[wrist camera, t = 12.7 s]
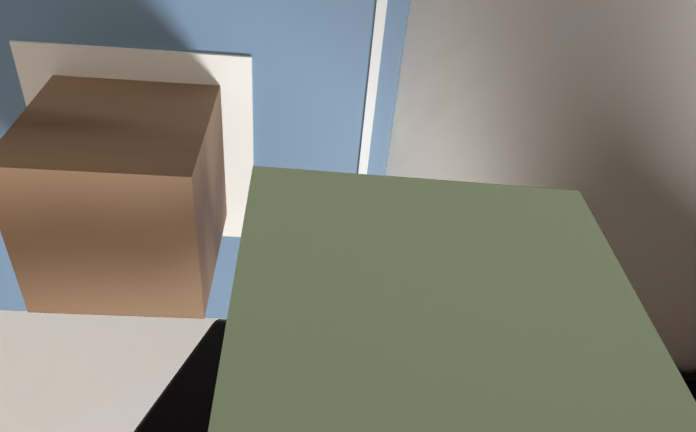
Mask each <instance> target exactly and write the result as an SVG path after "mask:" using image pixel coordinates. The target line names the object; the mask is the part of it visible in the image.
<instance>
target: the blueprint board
mask: <svg viewBox="0 0 696 432" xmlns="http://www.w3.org/2000/svg"><path fill="white" fill-rule="evenodd" d="M409 4H410V0H0V139H1V138H2V137H3V135H4V134H5V133H6V132H7V130H8V129H9V128H10V127H11V126H12V124H13V123H14V122H15V121H16V119H17V118H18V117H19V116H20V115H21V113H22V112H23V111H24V110H25V108H26V107H27V106H28V105H29V104H30V102H31V101H32V100H33V99H34V97H35V96H36V95H37V94H38V93H39V91H40V90H41V89H42V88H43V86H44V85H45V84H46V83H47V82H48V80H49V79H50V78H51V77H52V75H59V76H75V77H91V78H107V79H123V80H140V81H156V82H172V83H188V84H204V85H220V89H221V109H222V128H223V148H224V168H225V188H226V207H227V216H226V221H225V225H224V230H223V234H222V239H221V244H220V248H219V253H218V258H217V262H216V267H215V271H214V276H213V281H212V285H211V290H210V295H209V299H208V304H207V309H206V313H205V318H225V319H227V315H228V310H229V304H230V298H231V292H232V286H233V280H234V274H235V268H236V262H237V256H238V250H239V245H240V239H241V233H242V227H243V221H244V215H245V209H246V203H247V197H248V191H249V185H250V180H251V174H252V168H253V166H264V167H277V168H290V169H303V170H316V171H329V172H342V173H356V174H369V175H382V176H385V174H386V167H387V160H388V153H389V146H390V139H391V132H392V125H393V118H394V111H395V104H396V96H397V89H398V82H399V75H400V68H401V61H402V54H403V47H404V40H405V33H406V26H407V19H408V12H409ZM0 310H13V311H27V308H26V305H25V302H24V299H23V296H22V293H21V290H20V287H19V284H18V282H17V279H16V276H15V273H14V270H13V267H12V264H11V261H10V258H9V255H8V252H7V249H6V246H5V243H4V240H3V237H2V235H1V232H0Z"/></svg>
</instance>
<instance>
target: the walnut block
mask: <svg viewBox="0 0 696 432" xmlns="http://www.w3.org/2000/svg"><path fill="white" fill-rule="evenodd" d="M226 216H227V207H226V188H225V168H224V148H223V128H222V109H221V89H220V85H204V84H188V83H172V82H156V81H140V80H123V79H107V78H91V77H75V76H59V75H52V77H51V78H50V79H49V80H48V82H47V83H46V84H45V85H44V86H43V88H42V89H41V90H40V91H39V93H38V94H37V95H36V96H35V97H34V99H33V100H32V101H31V102H30V104H29V105H28V106H27V107H26V108H25V110H24V111H23V112H22V113H21V115H20V116H19V117H18V118H17V119H16V121H15V122H14V123H13V124H12V126H11V127H10V128H9V129H8V130H7V132H6V133H5V134H4V135H3V137H2V138H1V139H0V232H1V235H2V237H3V240H4V243H5V246H6V249H7V252H8V255H9V258H10V261H11V264H12V267H13V270H14V273H15V276H16V279H17V282H18V284H19V287H20V290H21V293H22V296H23V299H24V302H25V305H26V308H27V311H28V312H37V313H64V314H91V315H117V316H144V317H171V318H198V319H204V318H205V313H206V309H207V304H208V299H209V295H210V290H211V285H212V281H213V276H214V271H215V267H216V262H217V258H218V253H219V248H220V244H221V239H222V234H223V230H224V225H225V221H226Z"/></svg>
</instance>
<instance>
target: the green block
mask: <svg viewBox="0 0 696 432" xmlns="http://www.w3.org/2000/svg"><path fill="white" fill-rule="evenodd" d="M208 432H696V401H695V399H694V398H693V396H692V394H691V392H690V390H689V389H688V387H687V385H686V383H685V381H684V379H683V378H682V376H681V374H680V372H679V370H678V369H677V367H676V365H675V363H674V361H673V360H672V358H671V356H670V354H669V352H668V350H667V349H666V347H665V345H664V343H663V341H662V340H661V338H660V336H659V334H658V332H657V330H656V329H655V327H654V325H653V323H652V321H651V320H650V318H649V316H648V314H647V312H646V310H645V309H644V307H643V305H642V303H641V301H640V300H639V298H638V296H637V294H636V292H635V290H634V289H633V287H632V285H631V283H630V281H629V280H628V278H627V276H626V274H625V272H624V271H623V269H622V267H621V265H620V263H619V261H618V260H617V258H616V256H615V254H614V252H613V251H612V249H611V247H610V245H609V243H608V241H607V240H606V238H605V236H604V234H603V232H602V231H601V229H600V227H599V225H598V223H597V221H596V220H595V218H594V216H593V214H592V212H591V211H590V209H589V207H588V205H587V203H586V201H585V200H584V198H583V196H582V194H581V192H580V191H577V190H564V189H551V188H538V187H525V186H512V185H499V184H486V183H473V182H460V181H447V180H434V179H421V178H408V177H395V176H382V175H369V174H356V173H342V172H329V171H316V170H303V169H290V168H277V167H264V166H253V168H252V174H251V180H250V185H249V191H248V197H247V203H246V209H245V215H244V221H243V227H242V233H241V239H240V245H239V250H238V256H237V262H236V268H235V274H234V280H233V286H232V292H231V298H230V304H229V310H228V315H227V321H226V327H225V333H224V339H223V345H222V351H221V357H220V363H219V369H218V375H217V380H216V386H215V392H214V398H213V404H212V410H211V416H210V422H209V428H208Z"/></svg>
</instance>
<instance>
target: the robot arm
mask: <svg viewBox="0 0 696 432" xmlns="http://www.w3.org/2000/svg"><path fill="white" fill-rule="evenodd" d="M226 321H227V319H218V320H216V321H215V322H214V323H213V324H212V325H211V327H210V328H209V330H208V331H207V332H206V334H205V335H204V336H203V338H202V339H201V341H200V342H199V343H198V345H197V346H196V347H195V349H194V350H193V351H192V353H191V354H190V356H189V357H188V358H187V360H186V361H185V362H184V364H183V365H182V366H181V368H180V369H179V371H178V372H177V373H176V375H175V376H174V377H173V379H172V380H171V381H170V383H169V384H168V386H167V387H166V388H165V390H164V391H163V392H162V394H161V395H160V396H159V398H158V399H157V401H156V402H155V403H154V405H153V406H152V407H151V409H150V410H149V411H148V413H147V414H146V416H145V417H144V418H143V420H142V421H141V422H140V424H139V425H138V426H137V428H136V429H135V431H134V432H208V428H209V422H210V416H211V410H212V404H213V398H214V392H215V386H216V380H217V375H218V369H219V363H220V357H221V351H222V345H223V339H224V333H225V327H226ZM680 374H681V376H682V378H683V379H684V381H685V383H686V385H687V387H688V389H689V390H690V392H691V394H692V396H693V398H694V399H695V401H696V374H686V373H680Z"/></svg>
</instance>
